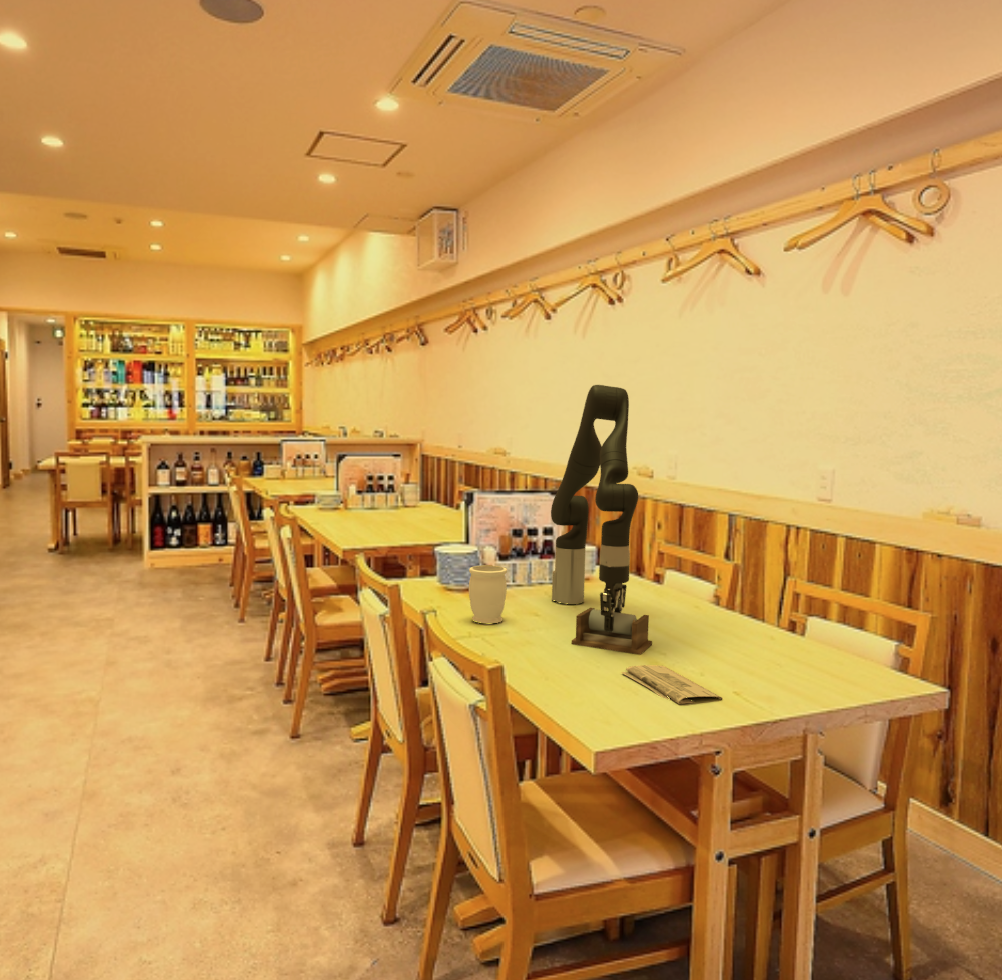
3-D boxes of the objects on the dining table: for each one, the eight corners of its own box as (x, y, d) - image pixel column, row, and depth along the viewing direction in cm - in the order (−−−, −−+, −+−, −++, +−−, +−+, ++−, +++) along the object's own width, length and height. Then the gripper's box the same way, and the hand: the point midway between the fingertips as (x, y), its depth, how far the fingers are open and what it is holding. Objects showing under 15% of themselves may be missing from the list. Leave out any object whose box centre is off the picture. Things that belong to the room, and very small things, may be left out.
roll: (588, 631, 203) (588, 611, 202) (595, 626, 208) (595, 607, 207) (630, 638, 198) (631, 617, 198) (636, 632, 203) (637, 612, 202)
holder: (571, 644, 203) (572, 615, 202) (585, 634, 212) (586, 606, 211) (640, 654, 195) (641, 624, 194) (651, 644, 204) (653, 615, 203)
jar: (507, 617, 228) (508, 565, 227) (504, 626, 218) (505, 572, 217) (470, 615, 229) (471, 564, 228) (465, 625, 219) (466, 571, 218)
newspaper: (618, 675, 181) (619, 664, 180) (664, 675, 185) (666, 665, 185) (673, 710, 159) (674, 697, 159) (724, 709, 164) (725, 697, 164)
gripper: (609, 556, 209) (607, 620, 211) (590, 565, 196) (588, 633, 198) (637, 559, 206) (635, 624, 207) (619, 568, 193) (617, 637, 195)
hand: (612, 628), depth 203 cm, fingers closed on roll, 5 cm apart
